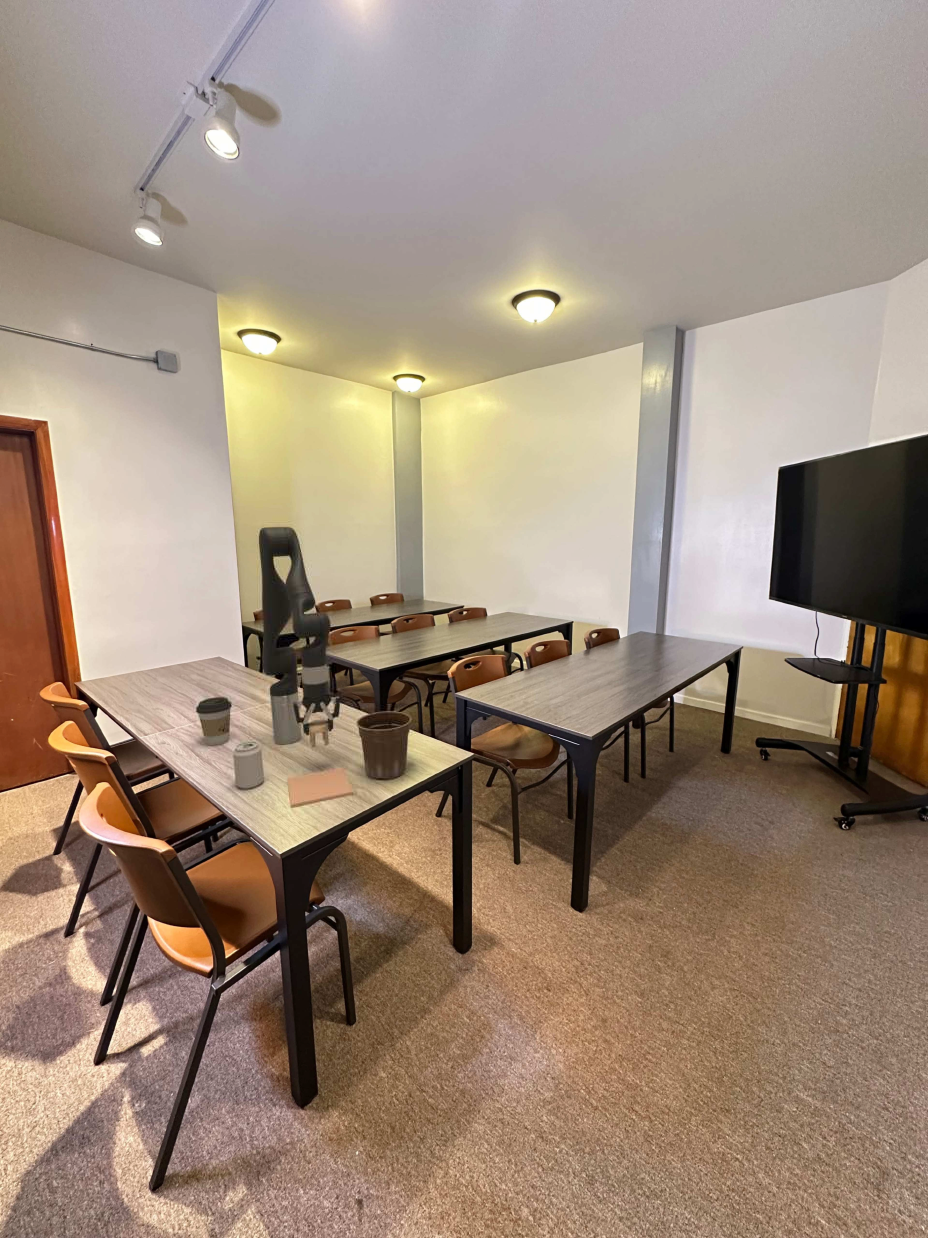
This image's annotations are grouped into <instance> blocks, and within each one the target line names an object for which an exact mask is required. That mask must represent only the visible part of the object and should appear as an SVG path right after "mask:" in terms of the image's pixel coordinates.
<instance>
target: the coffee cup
mask: <svg viewBox="0 0 928 1238" xmlns="http://www.w3.org/2000/svg"><path fill="white" fill-rule="evenodd" d="M232 706H233V705H232V702H231V701H229V698H228V697H226V696H225V697H223V696H217V697H209V698H206V699H203V700H200V701H199V702H198V704H197V706H196V707H195V712H196V713H197V714H198V718H199V722H200V725H201V730H202V733H203V737H204V741H205V742H204V743H206V745H207V746H208V745H209V747H215V746H216V747H217V746H220V745H224V744H227V743H228V742H229V740H230V728H231V708H232Z"/></svg>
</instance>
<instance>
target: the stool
mask: <svg viewBox="0 0 928 1238" xmlns="http://www.w3.org/2000/svg"><path fill="white" fill-rule="evenodd" d="M308 726H309V742H310V743H311V748H316V747H317V744H316V743H317V742H316V734H322V741H324V746H329V744H330V743H329V730H328V729H329V724H328V719H315V720H311V721H308Z"/></svg>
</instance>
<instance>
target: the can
mask: <svg viewBox="0 0 928 1238" xmlns="http://www.w3.org/2000/svg"><path fill="white" fill-rule="evenodd" d="M262 750H263V749H262V746H261V745H259V742H258V741H255V740H249V741H243V742H240V743H237V744H236V745H235V746H234V750H233V752H232V756H233V757H232V758H233V766H234V775H235V785H236V786H237V787H239V788H240V789H242V790H243V789H244V790H249V789H254V788H257V787H259V786H260V785H262V783H263V782H264V780H265V774H264V762H263V751H262Z"/></svg>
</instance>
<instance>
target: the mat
mask: <svg viewBox="0 0 928 1238" xmlns="http://www.w3.org/2000/svg"><path fill="white" fill-rule="evenodd" d="M287 786H288V792H289V801H290V808H297V807H300V806H305V805H309V804H315V803H319V802H324V801H328V800H332V799H333V800H334V799H338V798H343V797H348V796H351V795H353V794H354V791H353V789H352V786H351V784H350V782H349V779H348V777H347V773H346V772H345V768H344V767H340V768H334V769H329V770H326V771H324V770H323V771H320V772H314V773H310V774H309V773H308V774H305V775H299V776H295V777H294V776H293V777H287Z"/></svg>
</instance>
